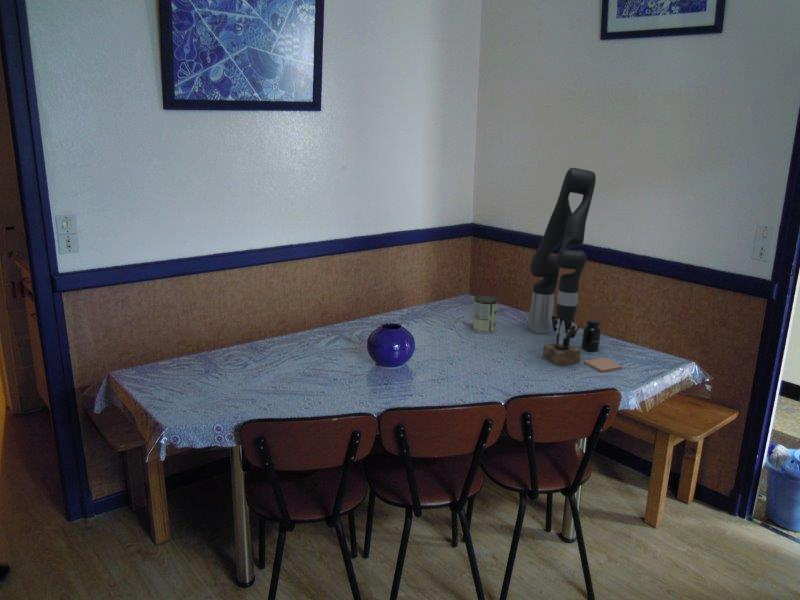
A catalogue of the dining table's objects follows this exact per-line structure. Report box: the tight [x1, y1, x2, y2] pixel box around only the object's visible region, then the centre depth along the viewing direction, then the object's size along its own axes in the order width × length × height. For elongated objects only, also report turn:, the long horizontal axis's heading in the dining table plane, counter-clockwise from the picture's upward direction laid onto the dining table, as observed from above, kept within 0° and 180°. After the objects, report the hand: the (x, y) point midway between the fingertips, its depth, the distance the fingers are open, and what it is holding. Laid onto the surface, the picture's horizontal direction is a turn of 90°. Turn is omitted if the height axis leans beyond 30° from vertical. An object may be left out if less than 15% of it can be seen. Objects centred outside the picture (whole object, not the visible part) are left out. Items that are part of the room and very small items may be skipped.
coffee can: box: [472, 294, 500, 334], centre depth 295 cm, size 10×10×14 cm
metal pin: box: [558, 323, 568, 351], centre depth 263 cm, size 3×3×16 cm
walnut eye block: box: [542, 342, 582, 367], centre depth 265 cm, size 10×10×5 cm
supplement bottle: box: [581, 318, 602, 353], centre depth 276 cm, size 7×7×12 cm
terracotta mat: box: [583, 356, 623, 374], centre depth 261 cm, size 10×10×1 cm
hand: (562, 345), depth 264 cm, fingers closed on metal pin, 3 cm apart
